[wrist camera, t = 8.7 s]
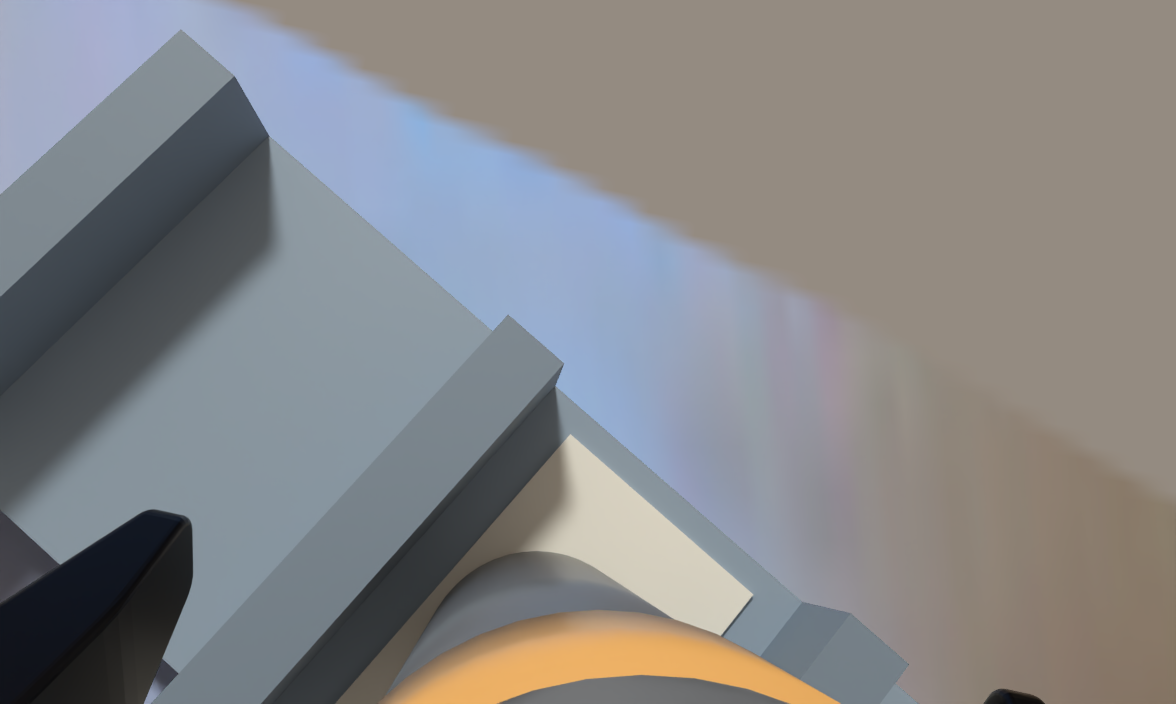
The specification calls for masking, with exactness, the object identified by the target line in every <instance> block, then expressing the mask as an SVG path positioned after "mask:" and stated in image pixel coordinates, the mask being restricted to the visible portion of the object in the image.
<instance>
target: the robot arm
mask: <svg viewBox="0 0 1176 704" xmlns="http://www.w3.org/2000/svg"><path fill="white" fill-rule="evenodd" d="M192 580H193V529H192V523H191V521H190V519H189V518H188V517H186V516H184V515H180V514H175V513H170V512H166V511H161V510H156V509H150V510H146V511H143V512H141V513H140V514H138V515H136V516H135V517H133V518H132V519H130V520H129V521H127V522H126V523H124V524H122V525H121V526H119V527H118V528H116V529H115V530H113V531H112V532H110V533H109V534H107V535H105V536H104V537H102V538H101V539H99V540H98V541H96V542H95V543H93V544H92V545H90V546H88V547H87V548H85V549H84V550H82V551H81V552H79V553H78V554H76V555H74V556H73V557H71V558H70V559H68V560H67V561H65V562H64V563H62V564H61V565H59V566H57V567H56V568H54V569H53V570H51V571H50V572H48V573H47V574H45V575H43V576H42V577H40V578H39V579H37V580H36V581H34V582H33V583H31V584H30V585H28V586H26V587H25V588H23V589H22V590H20V591H19V592H17V593H16V594H14V595H13V596H11V597H9V598H8V599H6V600H5V601H3V602H2V603H0V704H144V701H145V699H146V697H147V694H148V692H149V689H150V687H151V685H152V682H153V680H154V677H155V675H156V673H157V670H158V668H159V665H160V663H161V661H162V658H163V656H164V653H165V651H166V648H167V646H168V644H169V641H170V639H171V636H172V634H173V632H174V629H175V627H176V624H177V622H178V620H179V617H180V615H181V612H182V610H183V608H184V605H185V603H186V600H187V598H188V595H189V592H190V589H191V585H192ZM984 704H1045V703H1044V702H1043V701H1042V700H1040V699H1039V698H1038V697H1036V696H1034V695H1031V694H1026V693H1022V692H1017V691H1012V690H1008V689H998V690H996V691H994V692H992V693H991V694H990V695H989V697H988V698H987V699H986V701H985V702H984Z"/></svg>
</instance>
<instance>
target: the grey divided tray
mask: <svg viewBox="0 0 1176 704" xmlns="http://www.w3.org/2000/svg"><path fill="white" fill-rule="evenodd" d="M563 365H564V363H563V362H562V361H561V360H560V359H558V358H557V357H556V356H555V355H554V354H553V353H552V352H550V351H549V350H548V349H547V348H546V347H545V346H543V345H542V344H541V343H540V342H539V341H538V340H537V339H535V338H534V337H533V336H532V335H531V334H530V333H529V332H527V331H526V330H525V329H524V328H523V327H522V326H521V325H519V324H518V323H517V322H516V321H515V320H514V319H513V318H511V317H510V316H509V315H507V316H506V318H505V319H504V320H503V321H502V322H501V323H500V324H499V325H498V326H497V327H496V328H495V330H494V331H492V330H491V329H489V328H488V327H487V326H486V325H485V324H484V323H483V322H481V321H480V320H479V319H478V318H477V317H476V316H475V315H473V314H472V313H471V312H470V311H469V310H468V309H467V308H465V307H464V306H463V305H462V304H461V303H460V302H459V301H457V300H456V299H455V298H454V297H453V296H452V295H451V294H449V293H448V292H447V291H446V290H445V289H444V288H443V287H441V286H440V285H439V284H438V283H437V282H436V281H435V280H433V279H432V278H431V277H430V276H429V275H428V274H427V273H425V272H424V271H423V270H422V269H421V268H420V267H418V266H417V265H416V264H415V263H414V262H413V261H412V260H410V259H409V258H408V257H407V256H406V255H405V254H404V253H402V252H401V251H400V250H399V249H398V248H397V247H396V246H394V245H393V244H392V243H391V242H390V241H389V240H388V239H386V238H385V237H384V236H383V235H382V234H381V233H380V232H378V231H377V230H376V229H375V228H374V227H373V226H372V225H370V224H369V223H368V222H367V221H366V220H365V219H364V218H362V217H361V216H360V215H359V214H358V213H357V212H356V211H354V210H353V209H352V208H351V207H350V206H349V205H348V204H346V203H345V202H344V201H343V200H342V199H341V198H340V197H338V196H337V195H336V194H335V193H334V192H333V191H332V190H330V189H329V188H328V187H327V186H326V185H325V184H324V183H322V182H321V181H320V180H319V179H318V178H317V177H316V176H314V175H313V174H312V173H311V172H310V171H309V170H308V169H306V168H305V167H304V166H303V165H302V164H301V163H300V162H298V161H297V160H296V159H295V158H294V157H293V156H292V155H290V154H289V153H288V152H287V151H286V150H285V149H284V148H282V147H281V146H280V145H279V144H278V143H277V142H276V141H274V140H273V139H272V138H271V137H270V136H269V135H268V133H267V131H266V130H265V128H264V126H263V124H262V123H261V121H260V119H259V118H258V116H257V114H256V112H255V111H254V109H253V107H252V105H251V104H250V102H249V100H248V99H247V97H246V95H245V93H244V92H243V90H242V88H241V86H240V85H239V83H238V81H237V79H236V78H235V76H234V75H233V74H232V73H230V72H229V71H228V70H227V69H226V68H225V67H224V66H222V65H221V64H220V63H219V62H218V61H217V60H216V59H214V58H213V57H212V56H211V55H210V54H209V53H208V52H206V51H205V50H204V49H203V48H202V47H201V46H200V45H198V44H197V43H196V42H195V41H194V40H193V39H191V38H190V37H189V36H188V35H187V34H186V33H185V32H183V31H182V30H180V31H179V32H178V33H176V34H175V35H174V36H173V37H172V38H171V39H170V40H169V41H168V42H167V43H166V44H164V45H163V46H162V47H161V48H160V49H159V50H158V51H157V52H156V53H155V54H154V55H152V56H151V57H150V58H149V59H148V60H147V61H146V62H145V63H144V64H143V65H142V66H140V67H139V68H138V69H137V70H136V71H135V72H134V73H133V74H132V75H131V76H130V77H128V78H127V79H126V80H125V81H124V82H123V83H122V84H121V85H120V86H119V87H118V88H116V89H115V90H114V91H113V92H112V93H111V94H110V95H109V96H108V97H107V98H106V99H104V100H103V101H102V102H101V103H100V104H99V105H98V106H97V107H96V108H95V109H94V110H92V111H91V112H90V113H89V114H88V115H87V116H86V117H85V118H84V119H83V120H82V121H80V122H79V123H78V124H77V125H76V126H75V127H74V128H73V129H72V130H71V131H70V132H68V133H67V134H66V135H65V136H64V137H63V138H62V139H61V140H60V141H59V142H58V143H56V144H55V145H54V146H53V147H52V148H51V149H50V150H49V151H48V152H47V153H46V154H44V155H43V156H42V157H41V158H40V159H39V160H38V161H37V162H36V163H35V164H34V165H32V166H31V167H30V168H29V169H28V170H27V171H26V172H25V173H24V174H23V175H22V176H20V177H19V178H18V179H17V180H16V181H15V182H14V183H13V184H12V185H11V186H10V187H8V188H7V189H6V190H5V191H4V192H3V193H2V194H1V195H0V510H1V511H2V512H3V513H4V514H5V515H6V516H7V517H8V518H9V519H11V520H12V521H13V522H14V523H15V524H16V525H17V526H18V527H19V528H20V529H21V530H23V531H24V532H25V533H26V534H27V535H28V536H29V537H30V538H31V539H32V540H33V541H35V542H36V543H37V544H38V545H39V546H40V547H41V548H42V549H43V550H44V551H45V552H47V553H48V554H49V555H50V556H51V557H52V558H53V559H54V560H55V561H56V562H57V563H59V564H60V565H61V564H62V563H64V562H65V561H67V560H68V559H70V558H71V557H73V556H74V555H76V554H78V553H79V552H81V551H82V550H84V549H85V548H87V547H88V546H90V545H92V544H93V543H95V542H96V541H98V540H99V539H101V538H102V537H104V536H105V535H107V534H109V533H110V532H112V531H113V530H115V529H116V528H118V527H119V526H121V525H122V524H124V523H126V522H127V521H129V520H130V519H132V518H133V517H135V516H136V515H138V514H140V513H141V512H143V511H146V510H150V509H156V510H161V511H166V512H170V513H175V514H180V515H184V516H186V517H188V518H189V519H190V521H191V523H192V529H193V580H192V585H191V589H190V592H189V595H188V598H187V600H186V603H185V605H184V608H183V610H182V612H181V615H180V617H179V620H178V622H177V624H176V627H175V629H174V632H173V634H172V636H171V639H170V641H169V644H168V646H167V648H166V651H165V653H164V656H163V658H162V659H163V660H164V661H165V662H166V663H168V664H169V665H170V666H171V667H172V668H173V669H174V670H175V671H176V672H177V673H178V675H177V676H176V677H175V678H174V679H173V680H172V681H171V682H170V684H169V685H168V686H167V687H166V688H165V689H164V690H163V691H162V692H161V693H160V694H159V696H158V697H157V698H156V699H155V700H154V701H153V702H152V703H151V704H377V703H378V702H379V701H380V700H381V699H382V698H384V697H385V695H386V693H387V692H388V690H389V688H390V687H391V685H392V683H393V682H394V680H395V678H396V677H397V675H398V673H399V671H400V670H401V668H402V666H403V665H404V663H405V661H406V660H407V658H408V656H409V655H410V653H411V651H412V650H413V648H414V646H415V645H416V643H417V641H418V640H419V638H420V636H421V635H422V633H423V631H424V630H425V628H426V626H427V625H428V623H429V621H430V620H431V618H432V616H433V615H434V613H435V611H436V610H437V608H438V607H439V605H440V604H441V602H442V601H443V599H444V598H445V596H446V595H447V594H448V593H449V592H450V591H451V590H452V589H453V587H454V586H455V585H456V584H457V583H458V582H460V581H461V580H462V579H463V578H464V577H465V576H466V575H468V574H469V573H471V572H472V571H474V570H475V569H477V568H478V567H480V566H482V565H484V564H486V563H488V562H490V561H492V560H494V559H497V558H500V557H503V556H506V555H509V554H514V553H519V552H529V551H544V552H554V553H559V554H564V555H567V556H570V557H573V558H576V559H579V560H581V561H583V562H585V563H587V564H589V565H591V566H593V567H594V568H596V569H598V570H599V571H601V572H602V573H604V574H605V575H607V576H608V577H610V578H611V579H613V580H614V581H616V582H618V583H619V584H621V585H622V586H624V587H625V588H627V589H628V590H630V591H631V592H633V593H634V594H636V595H638V596H639V597H641V598H642V599H644V600H645V601H647V602H648V603H650V604H651V605H653V606H654V607H656V608H658V609H659V610H661V611H662V612H664V613H665V614H667V615H668V616H670V617H671V618H673V619H674V620H678V621H681V622H684V623H687V624H690V625H693V626H696V627H698V628H701V629H704V630H707V631H710V632H713V633H715V634H718V635H720V636H721V637H723V638H725V639H727V640H729V641H731V642H733V643H735V644H737V645H739V646H741V647H743V648H745V649H747V650H749V651H751V652H753V653H754V654H756V655H758V656H760V657H761V658H763V659H765V660H766V661H768V662H770V663H772V664H773V665H775V666H777V667H779V668H780V669H782V670H784V671H785V672H787V673H789V674H791V675H792V676H794V677H796V678H798V679H799V680H801V681H803V682H804V683H806V684H808V685H810V686H811V687H813V688H815V689H817V690H818V691H820V692H822V693H823V694H825V695H827V696H829V697H830V698H832V699H834V700H836V701H837V702H839V703H841V704H918V703H917V702H916V701H915V700H914V699H913V698H912V697H910V696H909V695H908V694H907V693H906V692H905V691H904V690H902V689H901V688H900V687H899V686H898V685H897V684H896V681H897V680H898V679H899V677H900V676H901V675H902V673H903V672H904V671H905V669H906V668H907V667H908V665H909V664H908V663H907V662H906V661H905V660H904V659H902V658H901V657H900V656H899V655H898V654H897V653H896V652H894V651H893V650H892V649H891V648H890V647H889V646H887V645H886V644H885V643H884V642H883V641H882V640H881V639H879V638H878V637H877V636H876V635H875V634H874V633H873V632H871V631H870V630H869V629H868V628H867V627H866V626H865V625H863V624H862V623H861V622H860V621H859V620H858V619H857V618H855V617H854V616H853V615H852V614H851V613H847V612H843V611H839V610H834V609H830V608H826V607H821V606H817V605H813V604H809V603H804V602H802V601H801V600H799V599H798V598H797V597H796V596H795V595H794V594H793V593H791V592H790V591H789V590H788V589H787V588H786V587H785V586H783V585H782V584H781V583H780V582H779V581H778V580H777V579H775V578H774V577H773V576H772V575H771V574H770V573H769V572H767V571H766V570H765V569H764V568H763V567H762V566H761V565H759V564H758V563H757V562H756V561H755V560H754V559H753V558H751V557H750V556H749V555H748V554H747V553H746V552H745V551H743V550H742V549H741V548H740V547H739V546H738V545H737V544H735V543H734V542H733V541H732V540H731V539H730V538H728V537H727V536H726V535H725V534H724V533H723V532H722V531H720V530H719V529H718V528H717V527H716V526H715V525H714V524H712V523H711V522H710V521H709V520H708V519H707V518H706V517H704V516H703V515H702V514H701V513H700V512H699V511H698V510H696V509H695V508H694V507H693V506H692V505H691V504H690V503H688V502H687V501H686V500H685V499H684V498H683V497H682V496H680V495H679V494H678V493H677V492H676V491H675V490H674V489H672V488H671V487H670V486H669V485H668V484H667V483H666V482H664V481H663V480H662V479H661V478H660V477H659V476H658V475H656V474H655V473H654V472H653V471H652V470H651V469H650V468H648V467H647V466H646V465H645V464H644V463H643V462H642V461H640V460H639V459H638V458H637V457H636V456H635V455H634V454H632V453H631V452H630V451H629V450H628V449H627V448H626V447H624V446H623V445H622V444H621V443H620V442H619V441H618V440H616V439H615V438H614V437H613V436H612V435H611V434H610V433H608V432H607V431H606V430H605V429H604V428H603V427H602V426H600V425H599V424H598V423H597V422H596V421H595V420H594V419H592V418H591V417H590V416H589V415H588V414H587V413H586V412H584V411H583V410H582V409H581V408H580V407H579V406H577V405H576V404H575V403H574V402H573V401H572V400H571V399H569V398H568V397H567V396H566V395H565V394H564V393H563V392H561V391H560V390H559V389H558V388H557V387H556V386H555V385H556V383H557V380H558V378H559V375H560V373H561V370H562V368H563Z"/></svg>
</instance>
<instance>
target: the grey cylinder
mask: <svg viewBox="0 0 1176 704" xmlns="http://www.w3.org/2000/svg"><path fill="white" fill-rule="evenodd" d="M377 704H841V703H839V702H837V701H836V700H834V699H832V698H830V697H829V696H827V695H825V694H823V693H822V692H820V691H818V690H817V689H815V688H813V687H811V686H810V685H808V684H806V683H804V682H803V681H801V680H799V679H798V678H796V677H794V676H792V675H791V674H789V673H787V672H785V671H784V670H782V669H780V668H779V667H777V666H775V665H773V664H772V663H770V662H768V661H766V660H765V659H763V658H761V657H760V656H758V655H756V654H754V653H753V652H751V651H749V650H747V649H745V648H743V647H741V646H739V645H737V644H735V643H733V642H731V641H729V640H727V639H725V638H723V637H721V636H720V635H718V634H715V633H713V632H710V631H707V630H704V629H701V628H698V627H696V626H693V625H690V624H687V623H684V622H681V621H678V620H674V619H673V618H671V617H670V616H668V615H667V614H665V613H664V612H662V611H661V610H659V609H658V608H656V607H654V606H653V605H651V604H650V603H648V602H647V601H645V600H644V599H642V598H641V597H639V596H638V595H636V594H634V593H633V592H631V591H630V590H628V589H627V588H625V587H624V586H622V585H621V584H619V583H618V582H616V581H614V580H613V579H611V578H610V577H608V576H607V575H605V574H604V573H602V572H601V571H599V570H598V569H596V568H594V567H593V566H591V565H589V564H587V563H585V562H583V561H581V560H579V559H576V558H573V557H570V556H567V555H564V554H559V553H554V552H544V551H529V552H519V553H514V554H509V555H506V556H503V557H500V558H497V559H494V560H492V561H490V562H488V563H486V564H484V565H482V566H480V567H478V568H477V569H475V570H474V571H472V572H471V573H469V574H468V575H466V576H465V577H464V578H463V579H462V580H461V581H460V582H458V583H457V584H456V585H455V586H454V587H453V589H452V590H451V591H450V592H449V593H448V594H447V595H446V596H445V598H444V599H443V601H442V602H441V604H440V605H439V607H438V608H437V610H436V611H435V613H434V615H433V616H432V618H431V620H430V621H429V623H428V625H427V626H426V628H425V630H424V631H423V633H422V635H421V636H420V638H419V640H418V641H417V643H416V645H415V646H414V648H413V650H412V651H411V653H410V655H409V656H408V658H407V660H406V661H405V663H404V665H403V666H402V668H401V670H400V671H399V673H398V675H397V677H396V678H395V680H394V682H393V683H392V685H391V687H390V688H389V690H388V692H387V693H386V695H385V697H384V698H382V699H381V700H380V701H379V702H378V703H377Z"/></svg>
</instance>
